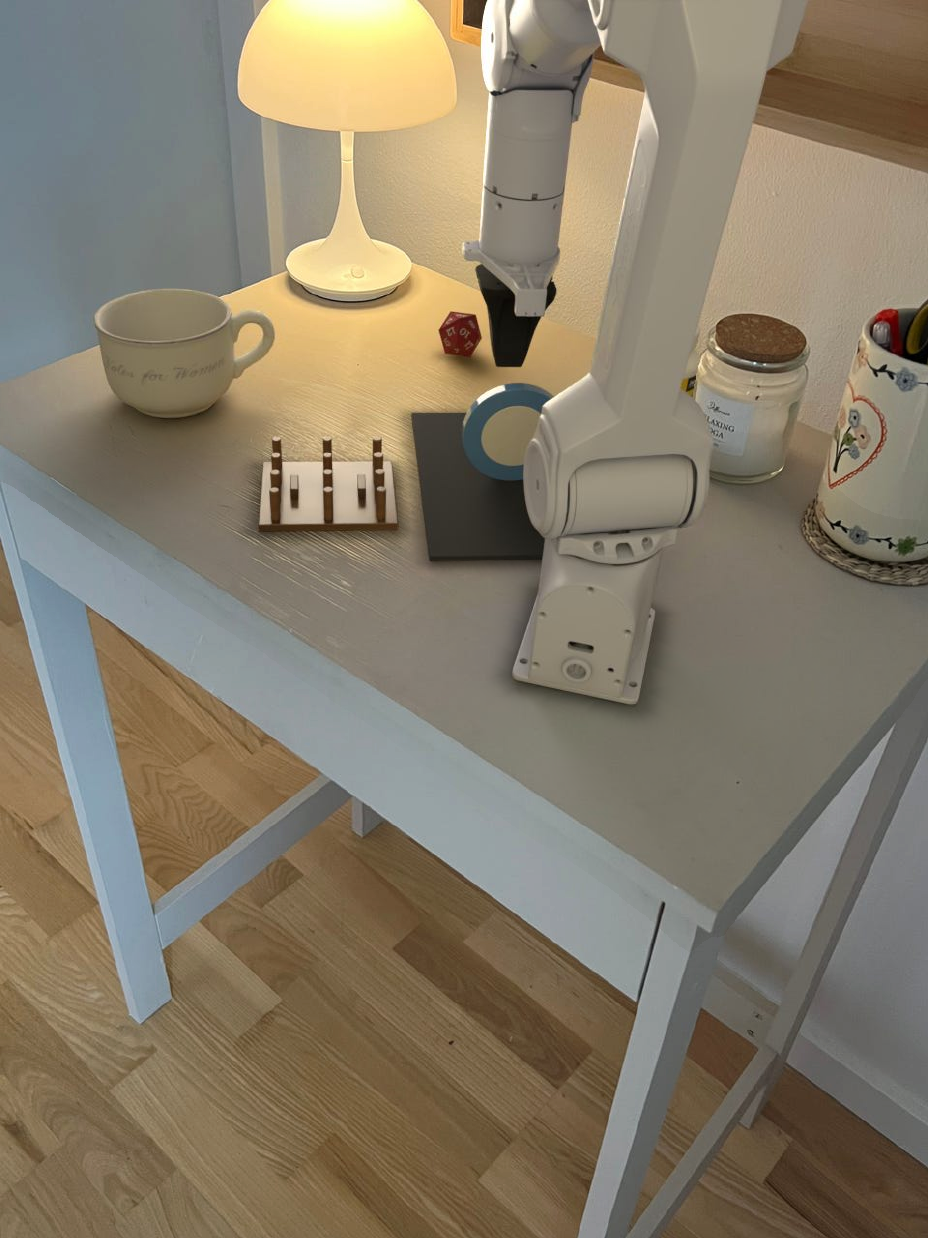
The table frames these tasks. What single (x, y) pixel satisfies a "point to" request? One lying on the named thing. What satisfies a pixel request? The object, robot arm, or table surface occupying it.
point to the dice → (460, 334)
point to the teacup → (174, 349)
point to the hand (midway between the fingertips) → (507, 362)
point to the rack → (327, 493)
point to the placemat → (468, 499)
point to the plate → (503, 428)
